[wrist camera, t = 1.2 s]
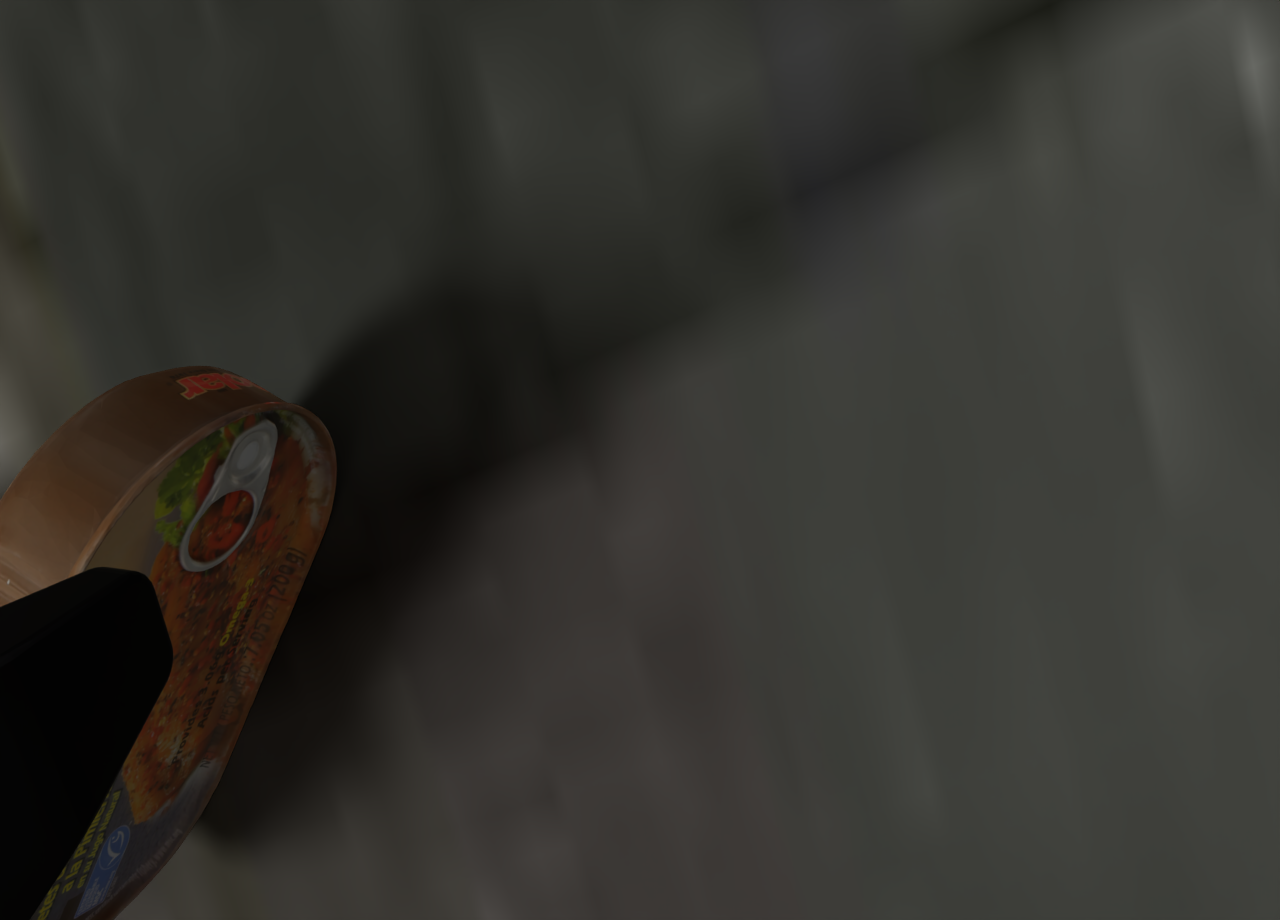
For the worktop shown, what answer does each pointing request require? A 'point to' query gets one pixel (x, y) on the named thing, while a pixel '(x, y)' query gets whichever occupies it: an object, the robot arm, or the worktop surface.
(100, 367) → the worktop surface
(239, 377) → the tin
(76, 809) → the robot arm
